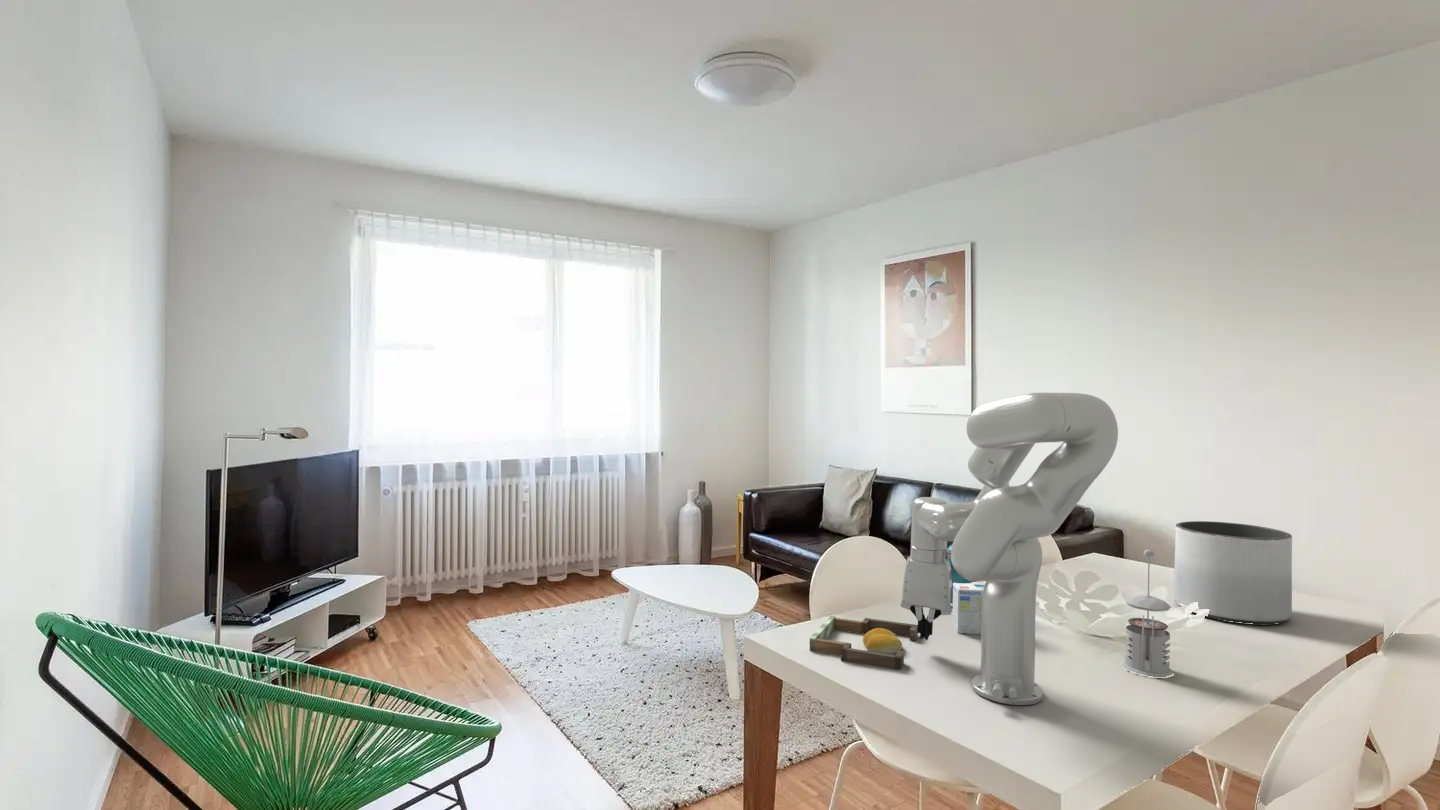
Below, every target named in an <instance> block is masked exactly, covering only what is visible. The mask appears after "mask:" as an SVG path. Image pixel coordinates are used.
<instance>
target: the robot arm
mask: <svg viewBox="0 0 1440 810" xmlns="http://www.w3.org/2000/svg"><path fill="white" fill-rule="evenodd" d="M966 435H967V437H968V439H969V441H970V442H971V444H973V445H974V446H976V447H975V449H974V451H973V452H972V454H971V455H970V457H969V458H968V461H967V467H968V471H969V472H970V473H971V475H972V476H973V477H974V478H975V480H977V481H978V482H980V484H983V487H982V489H981V490H980V492H979V493H978V495H977V496H976V498H974V500H973V501H972V502H971V501H970V502H969V501H968V502H957V503H956V502H955V503H948V502H947V501H946V500H945V499H943V498H938V497H931V496H920V497H917V498H915V499H914V501H913V502H912V505H911V506H912V507H911V508H912V509H911V511H912V512H911V531H910V533H911V535H910V552H909V553H910V555H909V556H908V557H907V558H906V563H905V567H904V573H903V578H902V579H903V582H902V590H901V599H902V600H901V603H900V607H901V608H903V609H906V610H907V611H910V612H911V613H912V614H913V615H914V616H915V618H916V620H917V625H918V630H917V633H918V634H919V639H920V640H923V639H924V640H926V641H928V639H929V637H930V636H932V635H933V626H934V625H933V623H934V621H935V620H936V619H938V618H939V617H941V616H949V615H951V614H952V613H953V609H952V606H951V604H952V603H951V598H952V579H951V567H950V562H948V561H947V559H949V558H951V560H952V564H953V567H954V569H955V570H956V572H957V573H958V574H959V575H960V576H961V577H963V578H965V579H967V580H970V581H972V582H978V583H979V582H985V583H984V584H985V586H984V590H983V595H982V621H981V634H980V674H978V675H976V676H974V677H973V678H972V681H971V688H972V689H973V691H974V692H975V693H976V694H978V695H979V696H981V697H983V698H984V699H987V700H990V701H993V702H996V703H1000V704H1005V705H1013V706H1029V705H1035V704H1038V703H1040V702H1042V700H1043V699H1044V691H1043V688H1042V687H1041V686H1040V685H1039V684H1038V683H1036V682H1035V679H1036V678H1035V671H1036V669H1035V666H1036V663H1035V662H1036V613H1037V609H1036V608H1037V607H1036V606H1037V590H1038V581H1039V577H1040V572H1041V569H1042V562H1043V549H1042V545H1041V542H1040V541H1039V538H1044V537H1045V538H1046V537H1049V536H1051V535H1052V534H1054V533H1056V531H1058V529H1059V528H1060V527H1061V525H1063V523H1064V522H1065V520H1067V517H1069V515H1070V513H1071V512H1072V511H1073V509H1074V508H1075V507H1076V506H1077V505H1078V503H1079V502H1080V500H1082V498H1083V496H1084V494H1085V493H1086V492H1087V490H1088V489H1089V488H1090V487H1091V485H1092V484H1093V483H1094V481H1096V479H1097V478H1098V477H1099V476H1100V474H1102V473H1103V471H1104V469H1105V468H1106V467H1107V466H1108V464H1109V462H1110V461H1111V459H1112V458H1113V455H1114V453H1115V451H1116V448H1117V444H1118V439H1119V427H1118V422H1117V418H1116V415H1115V413H1114V411H1113V410H1112V408H1111V407H1110V405H1109V404H1108V403H1106V401H1104V400H1103V399H1101V398H1100V397H1098V396H1094V395H1091V394H1088V393H1082V392H1081V393H1080V392H1079V393H1078V392H1031V393H1025V394H1021V395H1016V396H1012V397H1007V398H1004V399H998V400H993V401H989V402H986V403H982V404H981V405H979V406H977V407H976V408H975V409H974V410H973V411H972V412H971V414H970V415H969V417H968V419H967V422H966ZM1038 443H1061V444H1060V445H1059V446H1058V447H1057V448H1056V449H1054V450H1053V451H1052V452H1051V453H1050V454H1048V455H1047V456H1046V457H1045V458H1044V459H1043V460H1042V461H1041V463H1040V464H1039V465H1038V466H1037V468H1036V469H1035V472H1033V474H1032V475H1031V477H1030V478H1029V479H1028V480H1027V481H1026V482H1024V483H1023V484H1019V485H1011V486H1010V482H1011V480H1012V478H1013V476H1014V475H1015V474H1016V472H1017V471H1018V470H1019V468H1020V466H1021V465H1022V463H1023V462H1024V461H1025V459H1026V458H1027V456H1028V455H1029V454H1030V451H1031V450H1032V449H1033V447H1034V446H1035V444H1038ZM948 542H952V544H951V545H952V548H951V552H950V551H948V550H947V548H948ZM924 608H928V614H927V616H925V612H924Z"/></svg>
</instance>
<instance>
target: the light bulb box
mask: <svg viewBox="0 0 1440 810" xmlns="http://www.w3.org/2000/svg"><path fill="white" fill-rule="evenodd" d="M985 584H986V583H973V582H972V583H953V604H952V627H953V626H954V627H953V628H954V629H956V630H955V631H956V633H957V632H958V633H959V634H962V633H967V634H969V635H981V621H982V595H983V590H984V586H985ZM958 633H957V634H958Z"/></svg>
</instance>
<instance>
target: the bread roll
mask: <svg viewBox="0 0 1440 810" xmlns="http://www.w3.org/2000/svg"><path fill="white" fill-rule="evenodd" d="M862 642H863V645H864V646H865V648H866V651H871V652H878V653H884V654H891V655H895V654H897V652H898V651H902V647H903V644H902V641H901V640H900V638H898V636H897V634H894V633H892V632H891V631H889V630H887V629H883V628H875V629H872V630H869V631H868V632H867V633H866V634H864V635H863V638H862Z"/></svg>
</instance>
